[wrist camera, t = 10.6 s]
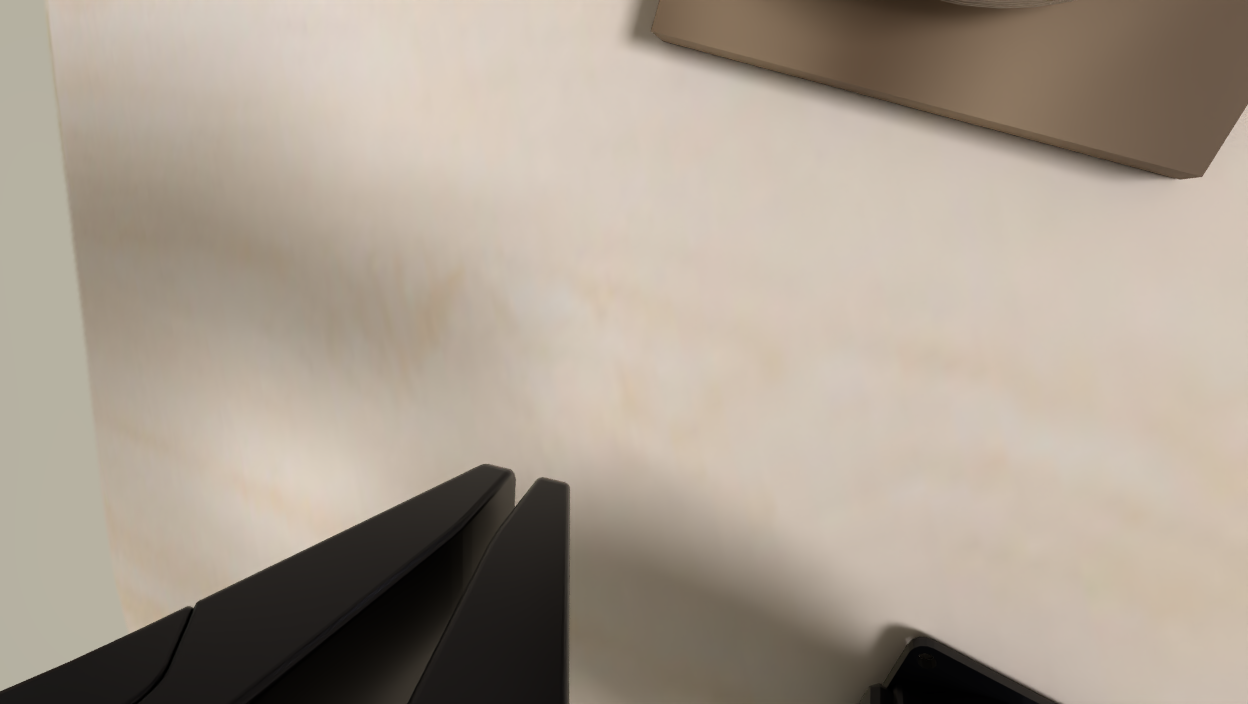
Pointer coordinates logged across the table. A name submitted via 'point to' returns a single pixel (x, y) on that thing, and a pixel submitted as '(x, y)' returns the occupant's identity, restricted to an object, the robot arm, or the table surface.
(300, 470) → the table surface
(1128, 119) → the walnut board
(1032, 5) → the disc and block
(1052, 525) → the table surface
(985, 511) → the table surface
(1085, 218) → the table surface
